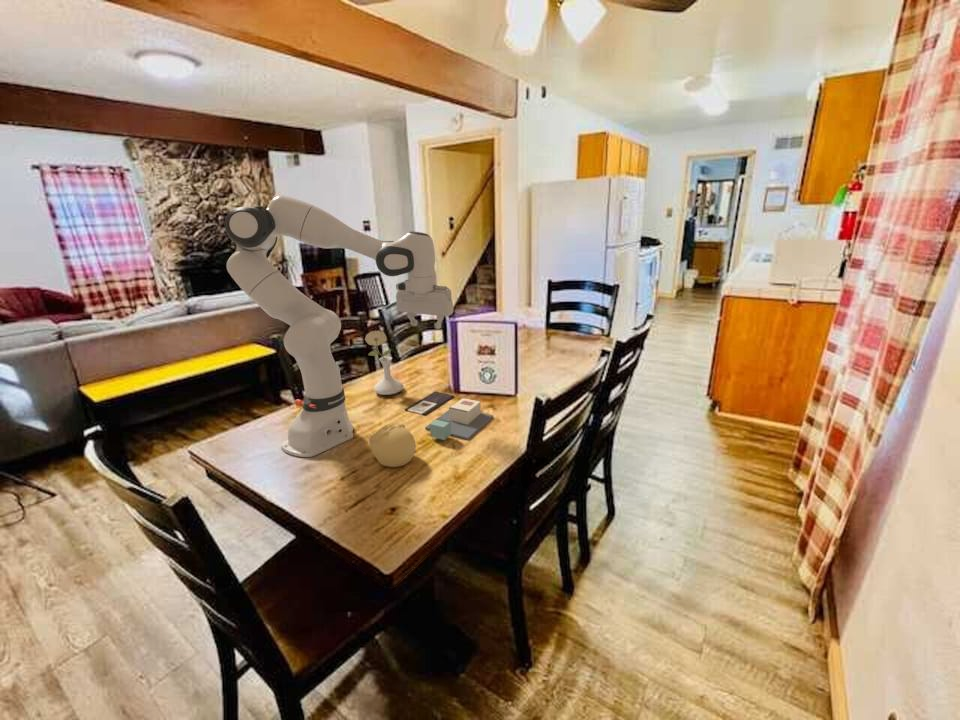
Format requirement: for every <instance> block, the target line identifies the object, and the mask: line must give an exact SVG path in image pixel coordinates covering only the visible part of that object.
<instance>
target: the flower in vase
mask: <svg viewBox="0 0 960 720" xmlns="http://www.w3.org/2000/svg"><path fill="white" fill-rule="evenodd" d="M364 340H365V342H366V343H367V345H370V346H374V347H376V350H377V351H376V350H371V351H370V352H369V353H368V354H367V356H374V357H376V356H378V355H380V356H381V357H380V358H379V359H378V361H380V363H381V365H382V368H383V372H384V373H383V374H384V375H383V377H382V378H381V379H380V380H379V381H378V382H377V383H376V384H375V386H374V387H373V391H374V392H375V393H376V394H377V395H384V396H387V395H389V396H390V395H395V394H397V393H399V392H401V391H402V390H403V388H404V385H403V383H402V382H401V380H398V379H396V378H395V377H393V376H392V375H391V367H390V366H391V363H392V362H391V361H392V360H393V357H391V356H387V355H389V354H390V353H391V352H392V348H390V349H388V350H385V351H384V352H383V354H382V353H380V351H379V346H380V345H383V344H385V343H386V341H387V335H386V334H385V333H384V332H383V331H380V330H374V331H373V330H371V331H370V332H368V333H367V334H366V335H365V338H364Z"/></svg>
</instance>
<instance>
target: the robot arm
mask: <svg viewBox="0 0 960 720" xmlns="http://www.w3.org/2000/svg"><path fill="white" fill-rule="evenodd" d="M224 229H225V231H226V234H227V236H228V238H229V239H230V240H231V242H233V244H235V245H236V249H235V251H234V253H232V254H231V255H230V257H229V258H228V259H227V261H226V270H227V273H228V274H229V275H230V277H231V279H232V280H233V281H234V282H235V283H236V285H238V286H239V288H240V289H241V290H242V291H243V292H244V294H246V295H247V297H249V298H250V299H251V300H252V301H253V302H254V303H255V304H256V305H257V306H258V307H259V308H260V309H262V310H263V311H264V312H265V313H266V314H267V315H268V316H269V317H271V318H273V319H277V320H279V321H281V322H284V323H285V324H287V325H289V328H288V329H287V331H286V333H284V336H283V345H284V348H285V350H286V351H287V353H288V354H289V355H291V356H292V357H293V358H294V360H295V361H296V363H297V365H298V368H299V370H300V373H301V377H302V384H303V388H304V396H303V400H302V399H299V398H297V399H295V401H294V406H295V405H296V406H297V407H302V409H301V410H300V411H299V412H298V414H297V416H296V417H295V418H294V420H293V421H292V422H291V423H290V425H289V426H288V429H287V439H286V440H284V441H283V442H282V443H281V444H280V447H281V448H280V449H282V451H283V452H285V453H286V454H289V455H292V456H295V457H300V458H313V457H314V456H316V455H319V454H321V453H323V452H325V451H327V450H329V449H332V448H334V447H336V446H338V445H340V444H343V443H345V442H346V441H349V440H351V439H353V437H354V433H353V431H354V426H353V423H352V421H351V419H350V417H349V414H348V410H347V407H346V402H345V401H346V394H345V390H344V388H343V385H342V378H341V370H340V366H339V364H338V363H337V362H336V361H335V359H334V356H333V354H332V350H331V344H332V343H333V342H335V340H336V339H337V338H338V337H339V335H340V332H341V328H342V322H341V319H340V317H339V315H338V314H336V312H334V311H333V310H330V309H328V308H324V306H322V305H320V304H319V303H317V302H315V300H312V299H311V298H309V297H308V296H306V295H305V294H304V293H303V292H301V291H300V290H299V289H298V288H297V287H296V286H295V285H293V283H292V282H290V281H289V279H287V277H286V276H284V274H283V273H282V272H280V271H279V269H277V268H276V267H275V266H274V265H273V264H272V263H271V261H270V260H269V259H268V258H269V257H270V255H271V253H272V252H273V250H274V249H275V247H276V246H277V242H278V237H279V236H280V237H283V236H285V237H290V238H292V239H295V240H297V241H299V242H301V243H304V244H306V245H309V246H312V247H317V248H319V249H320V248H321V249H345V250H349V251H352V252H355V253H357V254H360V255H361V256H365V257H367V258H370V259H372V260H374V261H375V264H376V267H377V269H378V271H380V273H382V274H383V275H385V276H388V277H398V276H401V275H404V274H407V279H406V280H404V281H402V282H397V283H396V284H395V289H396V290H397V291H396V295H395V303H396V304H395V305H396V308H397V311H398V312H400V313H406V315H407V318H408V320H409V321H410V325H411V326H412V327H416V326H418V319H416V318H415V316H414V315H415V314H418V315H419V314H421V315H426V316H427V315H428V316H429V315H430V316H436V320H437V321H436V322H434V325H433V326H434V329H436V330H440V329H441V328H442V323H443V320H444V317H449V316H452V314H453V313H454V303H453V298H452V290H451V289H450V288H449V287H448V286H446V285H443V286H442V285H438V279H437V272H436V269H435V265H436V252H435V245H434V241H433V238H432V237H431V236H430V235H429V234H428V233H425V232H421V231H408V232H407V233H405V234H404V235H403V236H402V237H399V238H398V239H395V240H380V239H377V238H375V237H372V236H370V235H368V234H365V233H362V232H360V231H358V230H355V229H353V228H352V227H350V226H349V225H347V224H345V223H344V222H343V221H341V220H340V219H338V218H337V217H335V216H334V215H332V214H331V213H329V212H327V211H325V210H324V209H322V208H320V207H318V206H316V205H313V204H311V203H309V202H306V201H303V200H300V199H297V198H293V197H290V196H285V195H277V196H275V197H273V198H272V199H271V200H270V201H269V203H268V204H267V207H265V206H263V205H257V206H240V207H235V208H234V209H232V210H230V211H229V212H228V214H227V215H226V217H225V219H224Z"/></svg>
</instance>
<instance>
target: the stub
mask: <svg viewBox="0 0 960 720" xmlns="http://www.w3.org/2000/svg"><path fill="white" fill-rule="evenodd" d="M438 418H439V417H437V418H436V419H434V420H433V421H431V422H430V423H429V424H430V430H429V431H430V437H431V438H434V439H438V440H442V441H445V440H446V439H448V438H449V437H451V436H450V435H451V421H447V420H442V419H438Z"/></svg>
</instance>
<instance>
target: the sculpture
mask: <svg viewBox="0 0 960 720" xmlns="http://www.w3.org/2000/svg"><path fill="white" fill-rule="evenodd" d="M368 442H369V444H370V445H369V447H370V451H371V452H372V453H373V455H374V457H375V458H376V460H377V462H379V463H380V465H382V466H385V467H389V468H398V467H402V466H405V465H407V464H408V463H409V462H411V460H412V459H413V457H414V456H415V452H416V445H417V444H416V440H415V438H414V435H413V434H412V432H410V430H409V429H408V428H406V426H405V424H404V423H396V424H395V423H394V424H385V425H384V426H382V427H381V428H380V429H379V430H378V431H376V432H374V433H373V434H371V435H370V437H369V438H368Z"/></svg>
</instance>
